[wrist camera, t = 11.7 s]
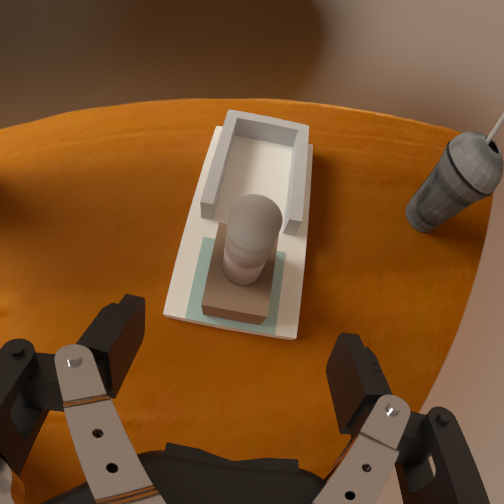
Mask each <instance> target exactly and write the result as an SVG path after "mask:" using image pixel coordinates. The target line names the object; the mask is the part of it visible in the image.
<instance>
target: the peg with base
mask: <svg viewBox="0 0 504 504" xmlns="http://www.w3.org/2000/svg"><path fill="white" fill-rule="evenodd" d="M282 223H283V217H282V213H281V210H280V209H279V207H278V206H277V204H276V203H275V202H274V201H272V200H271V199H269V198H268V197H265V196H263V195H258V194H248V195H244V196H242V197H240V198H238V199H236V200H235V201H234V202H233V203H232V205H231V206H230V208H229V211H228V218H227V224H226V223H221V222H219V225H218V230H217V234H216V239H215V243H214V247H213V252H212V256H211V261H210V266H209V270H208V275H207V279H206V284H205V289H204V294H203V298H202V303H201V306H202V312H203V315H206V316H211V317H216V318H221V319H227V320H232V321H237V322H243V323H249V324H255V325H261V324H262V322H263V321H264V320H265V319H266V318H267V317H268V310H269V303H270V296H271V289H272V282H273V275H274V267H275V260H276V252H277V245H278V237H279V232H280V229H281V227H282Z"/></svg>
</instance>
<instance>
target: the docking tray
mask: <svg viewBox="0 0 504 504" xmlns="http://www.w3.org/2000/svg"><path fill="white" fill-rule="evenodd" d="M308 135H309V126H308V125H304V124H300V123H295V122H291V121H286V120H282V119H277V118H272V117H268V116H262V115H257V114H252V113H246V112H241V111H235V110H228V113H227V116H226V119H225V122H224V125H223V127H222V126H216V129H215V132H214V135H213V138H212V141H211V144H210V147H209V150H208V153H207V156H206V159H205V162H204V165H203V168H202V172H201V175H200V178H199V181H198V184H197V188H196V191H195V194H194V198H193V201H192V205H191V208H190V211H189V215H188V218H187V222H186V226H185V229H184V233H183V236H182V240H181V244H180V248H179V251H178V255H177V259H176V263H175V267H174V271H173V275H172V279H171V283H170V287H169V291H168V295H167V299H166V304H165V308H164V312H163V314H164V316H165V317H168V318H172V319H177V320H181V321H186V322H191V323H196V324H201V325H206V326H211V327H216V328H221V329H227V330H232V331H238V332H243V333H249V334H255V335H261V336H267V337H274V338H280V339H287V340H294V339H296V338H297V330H298V321H299V313H300V304H301V295H302V285H303V275H304V265H305V254H306V243H307V231H308V219H309V205H310V190H311V173H312V155H313V145H311V144H308ZM248 194H258V195H263V196H265V197H268V198H269V199H271V200H272V201H274V202H275V203H276V204H277V206H278V207H279V209H280V210H281V213H282V217H283V223H282V227H281V229H280V232H279V237H278V245H277V252H276V260H275V267H274V275H273V282H272V289H271V296H270V303H269V310H268V317H267V318H266V319H265V320H264V321H263V322H262V324H261V325H255V324H249V323H243V322H237V321H232V320H227V319H221V318H216V317H211V316H206V315H203V312H202V306H201V303H202V298H203V294H204V289H205V284H206V279H207V275H208V270H209V266H210V261H211V256H212V252H213V247H214V243H215V239H216V234H217V230H218V225H219V222H221V223H226V224H227V218H228V211H229V208H230V206H231V205H232V203H233V202H234V201H235V200H236V199H238V198H240V197H242V196H244V195H248Z"/></svg>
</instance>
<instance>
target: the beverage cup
mask: <svg viewBox="0 0 504 504" xmlns="http://www.w3.org/2000/svg"><path fill="white" fill-rule="evenodd" d="M503 122H504V113H503V114H502V116H501V117H500V119H499V121H498V122H497V124H496V126H495V127H494V129H493V130H492V131H491V133H490V134H489V136H487V135H485V134H483V133H480V132H474V131H469V132H464V133H462V134H460V135H458V136H457V137H455V138H454V139H453V140H451V141H450V142H448V144H447V147H446V148H445V150H444V152H443V154H442V156H441V159H440V161H439V162H438V163H437V165H436V166H435V168H434V169H433V170H432V172H431V173H430V175H429V176H428V177H427V179H426V180H425V181H424V183H423V184H422V185H421V187H420V188H419V189H418V191H417V192H416V193H415V195H414V196H413V197H412V199H411V201H410V203H409V204H408V205H407V207H406V217H407V219H408V221H409V223H410V224H411V225H412V227H414V228H415V229H416V230H418V231H420V232H428V231H429V230H431V229H433V228H436V227H437V226H439V225H440V224H442V223H443V222H445V221H447V220H448V219H450V218H451V217H453V216H454V215H456V214H457V213H459V212H460V211H462V210H463V209H465V208H466V207H468V206H469V205H471V204H472V203H474V202H476V201H479V200H481V199H483V198H485V197H486V196H490V195H491V194H492V193H493V191H494V190H495V188H496V187H497V186H498V184H499V183H500V181H501V178H502V174H503V158H502V154H501V152H500V150H499V148H498V146H497V145H496V143H495V142H494V141H493V140H492V138H493V137H494V136H495V134H496V133H497V131H498V130H499V128H500V127H501V125H502V124H503Z"/></svg>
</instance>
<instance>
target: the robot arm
mask: <svg viewBox="0 0 504 504" xmlns="http://www.w3.org/2000/svg"><path fill="white" fill-rule="evenodd" d="M144 332H145V299H144V298H143V297H139V296H134V295H130V294H126V295H125V296H124V297H123V299H122V300H121V301H120V303H119V304H116V303H111V304H109V305H107V306H106V307H104V308H103V309H102V310H101V311H100V312H99V314H98V315H97V317H96V318H95V319H94V320H93V322H92V323H91V324H90V326H89V327H88V328H87V330H86V331H85V332H84V334H83V335H82V336H81V338H80V339H79V340H78V342H77V343H76V344H72V345H67V346H64V347H62V348H60V349H59V350H58V351H57V353H56V354H46V353H36V352H35V349H34V346H33V344H32V343H31V342H29V341H28V340H25V339H13V340H10V341H8V342H7V343H5V344H4V345H3V346H2V348H1V349H0V504H24V500H25V487H24V484H23V482H22V481H21V479H20V478H19V476H20V473H21V471H22V469H23V466H24V464H25V462H26V459H27V457H28V455H29V452H30V450H31V448H32V446H33V444H34V441H35V439H36V437H37V435H38V433H39V431H40V429H41V427H42V425H43V422H44V420H45V418H46V416H47V414H48V412H49V410H53V411H62V412H65V415H66V419H67V423H68V426H69V430H70V433H71V436H72V440H73V443H74V446H75V449H76V452H77V455H78V458H79V461H80V463H81V466H82V469H83V471H84V474H85V477H86V479H87V481H86V482H84V483H82V484H80V485H79V486H77V487H75V488H73V489H71V490H69V491H67V492H65V493H62V494H60V495H58V496H56V497H54V498H52V499H50V500H48V501H45V502H43V503H41V504H375V502H376V500H377V498H378V496H379V494H380V493H381V491H382V489H383V487H384V485H385V483H386V481H387V479H388V477H389V474H390V472H391V470H392V468H393V466H394V464H395V468H396V472H397V476H398V481H399V485H400V489H401V494H402V499H403V504H490V502H489V499H488V496H487V493H486V491H485V488H484V485H483V482H482V480H481V477H480V474H479V472H478V469H477V467H476V464H475V461H474V459H473V457H472V454H471V452H470V450H469V447H468V445H467V443H466V440H465V438H464V435H463V433H462V431H461V429H460V426H459V424H458V422H457V420H456V418H455V416H454V415H453V414H452V413H451V412H450V411H449V410H447V409H446V408H443V407H434V408H432V409H431V410H430V411H429V412H428V414H427V415H424V414H420V413H415V412H411V411H410V408H409V406H408V404H407V403H406V402H405V401H404V400H403V399H401V398H399V397H397V396H394V395H392V392H391V390H390V388H389V385H388V383H387V381H386V378H385V376H384V374H383V373H382V369H381V367H380V366H379V362H378V360H377V358H376V356H375V354H374V353H373V352H372V351H371V350H370V349H369V348H368V347H364V345H363V343H362V341H361V338H360V336H359V335H357V334H348V333H340V334H339V336H338V338H337V341H336V343H335V345H334V348H333V350H332V352H331V355H330V357H329V359H328V362H327V366H326V375H327V379H328V383H329V387H330V392H331V396H332V400H333V405H334V409H335V414H336V418H337V422H338V427H339V432H340V434H351V440H350V441H349V442H348V444H347V445H346V447H345V448H344V450H343V451H342V453H341V454H340V456H339V457H338V458H337V460H336V461H335V463H334V464H333V466H332V467H331V468H330V470H329V471H328V472H327V474H326V475H325V476H324V478H323V479H322V478H321V477H319V476H317V475H315V474H313V473H311V472H309V471H306V470H303V469H300V468H299V466H298V460H297V459H277V458H261V459H252V460H243V461H230V460H227V459H225V458H222V457H219V456H216V455H214V454H211V453H208V452H206V451H203V450H201V449H197V448H192V447H187V446H182V445H177V444H172V443H168V442H167V444H166V448H165V450H158V451H149V452H143V453H140V454H137V455H136V453H135V451H134V449H133V447H132V445H131V443H130V440H129V438H128V436H127V434H126V432H125V430H124V428H123V425H122V423H121V421H120V419H119V416H118V414H117V412H116V409H115V407H114V405H113V402H112V400H111V398H113V399H115V398H116V396H117V394H118V391H119V389H120V387H121V385H122V383H123V381H124V379H125V376H126V374H127V372H128V370H129V368H130V366H131V364H132V362H133V360H134V358H135V356H136V354H137V352H138V349H139V347H140V345H141V343H142V341H143V337H144ZM431 455H432V458H433V461H434V464H435V468H436V473H435V476H433V472H432V469H431V466H430V463H429V460H428V458H429V457H430V456H431Z"/></svg>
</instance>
